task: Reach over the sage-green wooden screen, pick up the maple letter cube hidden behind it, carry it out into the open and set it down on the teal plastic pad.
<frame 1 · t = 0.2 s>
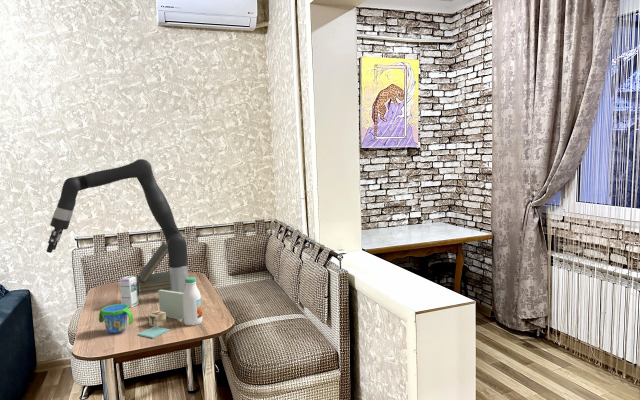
hand: (50, 250, 212), 31 cm above the table, tool tilted 20°, fingers open, 8 cm apart
bible: (156, 288, 259), on the table
syrup box: (130, 306, 226), on the table
pad: (154, 332, 187), on the table
snack cup: (116, 331, 191), on the table
milk bottle: (193, 323, 197), on the table
letter cube: (157, 324, 197), on the table
screen: (173, 317, 205), on the table
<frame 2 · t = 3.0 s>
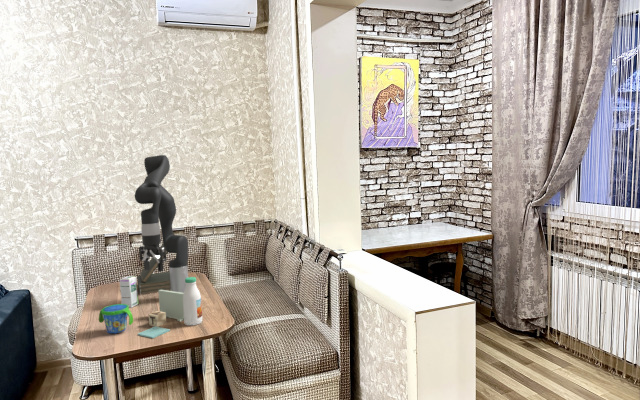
hand: (153, 270, 195), 24 cm above the table, tool pointing down, fingers open, 8 cm apart
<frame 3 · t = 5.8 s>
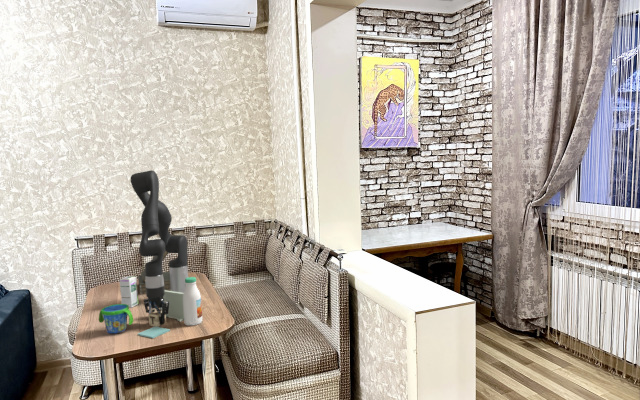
hand: (157, 323, 197), 0 cm above the table, tool pointing down, fingers closed on letter cube, 5 cm apart
letter cube: (157, 324, 197), on the table, touching gripper
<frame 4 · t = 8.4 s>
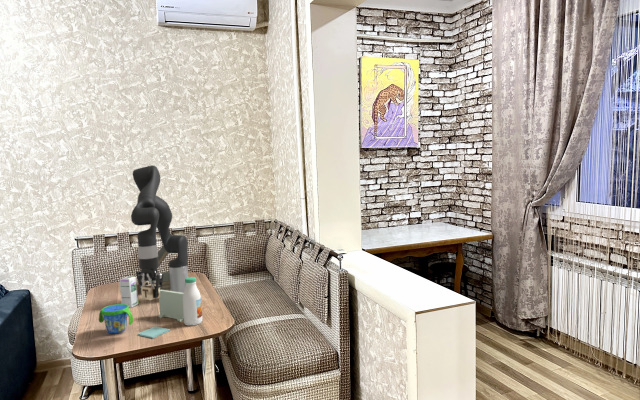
hand: (151, 296, 186), 15 cm above the table, tool pointing down, fingers closed on letter cube, 5 cm apart
letter cube: (151, 297, 186), point 15 cm above the table, touching gripper
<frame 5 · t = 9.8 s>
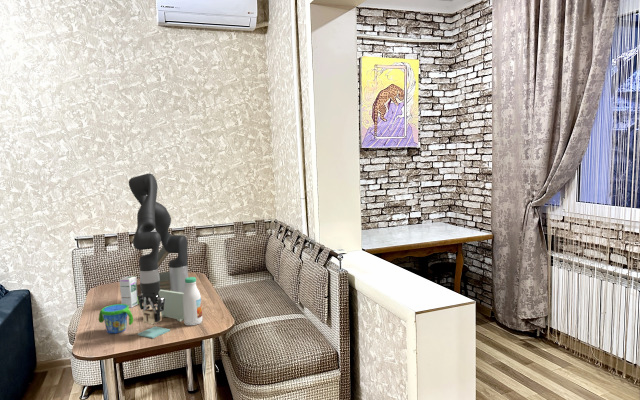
hand: (152, 320, 187), 5 cm above the table, tool pointing down, fingers closed on letter cube, 5 cm apart
letter cube: (152, 321, 186), point 5 cm above the table, touching gripper
when the fingers open (2 cm above the table, at t = 10.8 s): letter cube stays where it is, resting on pad.
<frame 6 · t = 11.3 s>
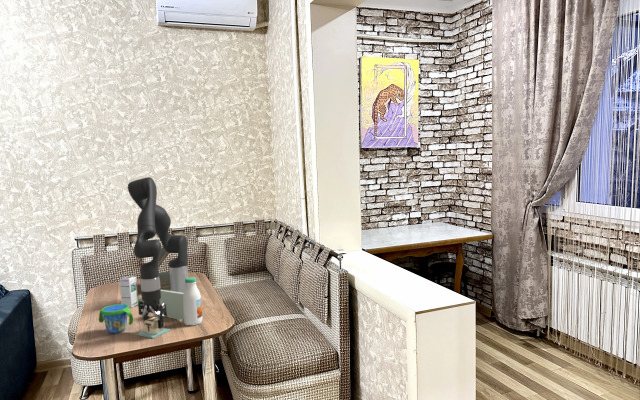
hand: (153, 326, 187), 3 cm above the table, tool pointing down, fingers open, 8 cm apart
letter cube: (154, 331, 187), point 1 cm above the table, touching pad
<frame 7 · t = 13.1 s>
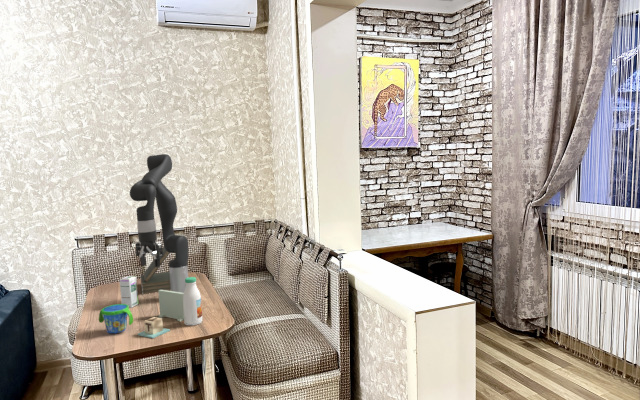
hand: (150, 266, 199), 25 cm above the table, tool pointing down, fingers open, 8 cm apart
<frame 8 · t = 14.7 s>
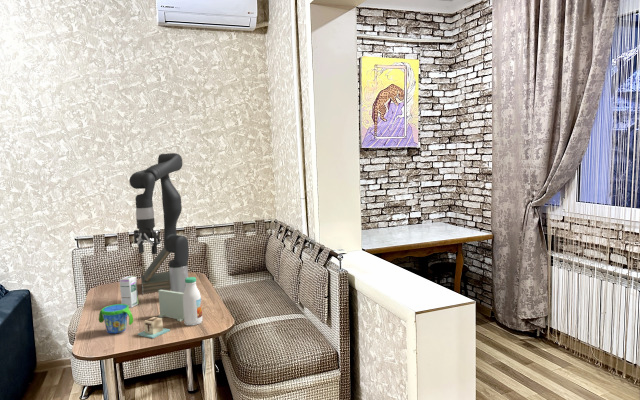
hand: (147, 253, 202), 30 cm above the table, tool pointing down, fingers open, 8 cm apart
at the end: letter cube inside the target area on the pad (0.0 cm from its centre), point 0.6 cm above the pad's base; letter cube tilted 0°; the gripper is holding nothing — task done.
